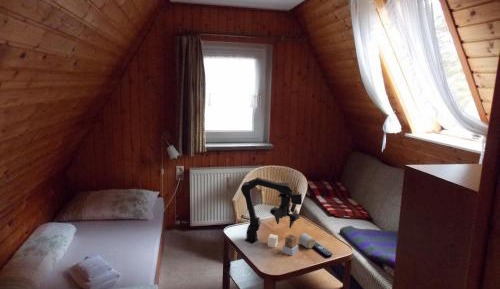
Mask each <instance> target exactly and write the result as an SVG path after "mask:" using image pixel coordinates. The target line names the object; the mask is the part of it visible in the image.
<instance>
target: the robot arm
mask: <svg viewBox="0 0 500 289" xmlns="http://www.w3.org/2000/svg"><path fill="white" fill-rule="evenodd" d="M257 186H260V187H264V188H268V189H271V190H274V191H277V192H278V195H277V197H279V198H280V204H279V206H278V207H276V206H274V207H271V209H270V210H269V214H271V215H272V216H273V217H274V218H275V221H276V225H280V224H279V223H280V219H281V220H282V219H283V218H286V217H288V218H289V219H288V221H289V229H292V227H293V224H294V223H295V222H296V221H297V220H300V214H299V213H296V212H293V213H291V210H290V208H291V206H292V205H299V206H300V205H301V206H302V203H303V201H302V200H303V194H302V193H294V192H293V189H292V187H291V185H290V183H287V182H275V181H272V180H269V179H268V180H267V179H263V178H260V177H259V176H258V177H255V178H253V179H251V180H249V181H245V182H243V183H242V185H241V188H240V191H241V194H242V195H243V197H244V198H245V202H246V203H245V204H246V207H247V211H248V215H249V224H248V225H247V226H248V227H247V229H246V235H245V236H246V237H245V239H244V241H245V242H248V243H250V244H254V243H256V242H258V241H259V238H258V231H259V230H260V227H261V223H262V222H261V221H260V216H259V217H258V216H257V213H256V209H255V205H254V201H253V197H252V190H253V189H254V188H256V187H257ZM291 204H292V205H291Z"/></svg>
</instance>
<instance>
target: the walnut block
mask: <svg viewBox="0 0 500 289" xmlns="http://www.w3.org/2000/svg"><path fill="white" fill-rule="evenodd" d="M297 238H298V237H297V236H296V235H293V234H291V233H289V234H287V235H286V236H285V238H284V239H285V242H284V245H285V246H286V247H289V248H291V249H292V248H294V247H295V246H296V245H297V240H298V239H297Z"/></svg>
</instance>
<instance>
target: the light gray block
mask: <svg viewBox="0 0 500 289" xmlns="http://www.w3.org/2000/svg"><path fill="white" fill-rule="evenodd" d="M298 252H299V244H296V246H295V247H294V248H292V249H291V248H289V247H286V246H285V244H284V245H282V253H283V254H287V255H289V256H294V255H296V254H297V253H298Z"/></svg>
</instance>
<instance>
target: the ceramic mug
mask: <svg viewBox="0 0 500 289" xmlns="http://www.w3.org/2000/svg"><path fill="white" fill-rule="evenodd" d="M315 243H316V242H315V238H313V237H312V236H310V235H309V234H308V233H306V232H303V233H302V234H300V236H299V237H298V244H300V245H301V246H303V247H304V248H307V249H310V250H311V249H312V248H313V247H314V246H315V245H316V244H315ZM314 244H315V245H314Z"/></svg>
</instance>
